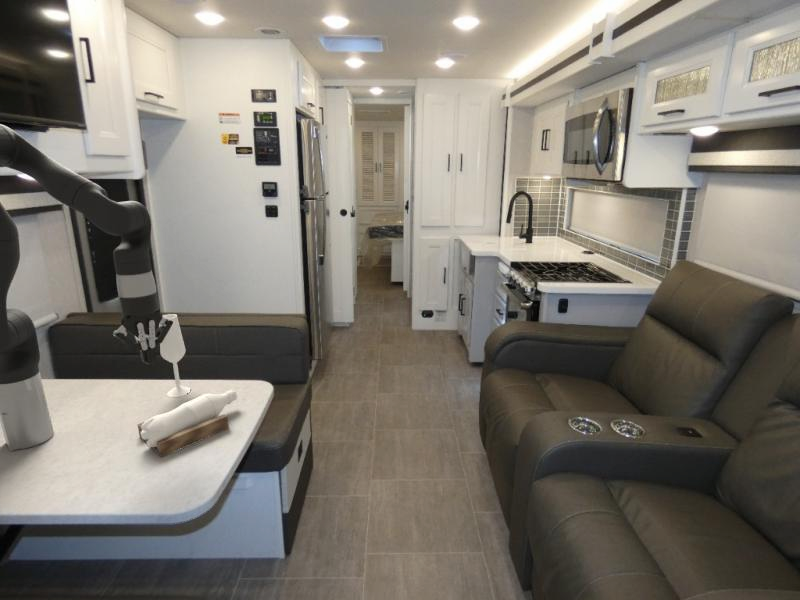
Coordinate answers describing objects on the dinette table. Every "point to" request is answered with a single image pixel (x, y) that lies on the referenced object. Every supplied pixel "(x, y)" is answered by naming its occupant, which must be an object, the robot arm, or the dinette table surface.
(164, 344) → the champagne flute
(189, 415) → the water bottle
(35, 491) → the dinette table surface
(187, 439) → the walnut cradle
